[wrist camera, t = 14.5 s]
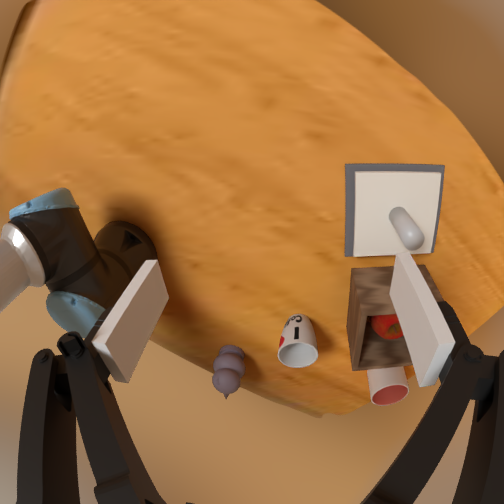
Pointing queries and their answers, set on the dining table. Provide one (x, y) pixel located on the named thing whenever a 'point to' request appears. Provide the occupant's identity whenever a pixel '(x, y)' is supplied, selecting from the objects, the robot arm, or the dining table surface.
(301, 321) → the cup
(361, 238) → the lid
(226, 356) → the cat figurine
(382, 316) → the apple
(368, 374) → the cup
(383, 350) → the box
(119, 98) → the dining table surface
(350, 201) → the mat
